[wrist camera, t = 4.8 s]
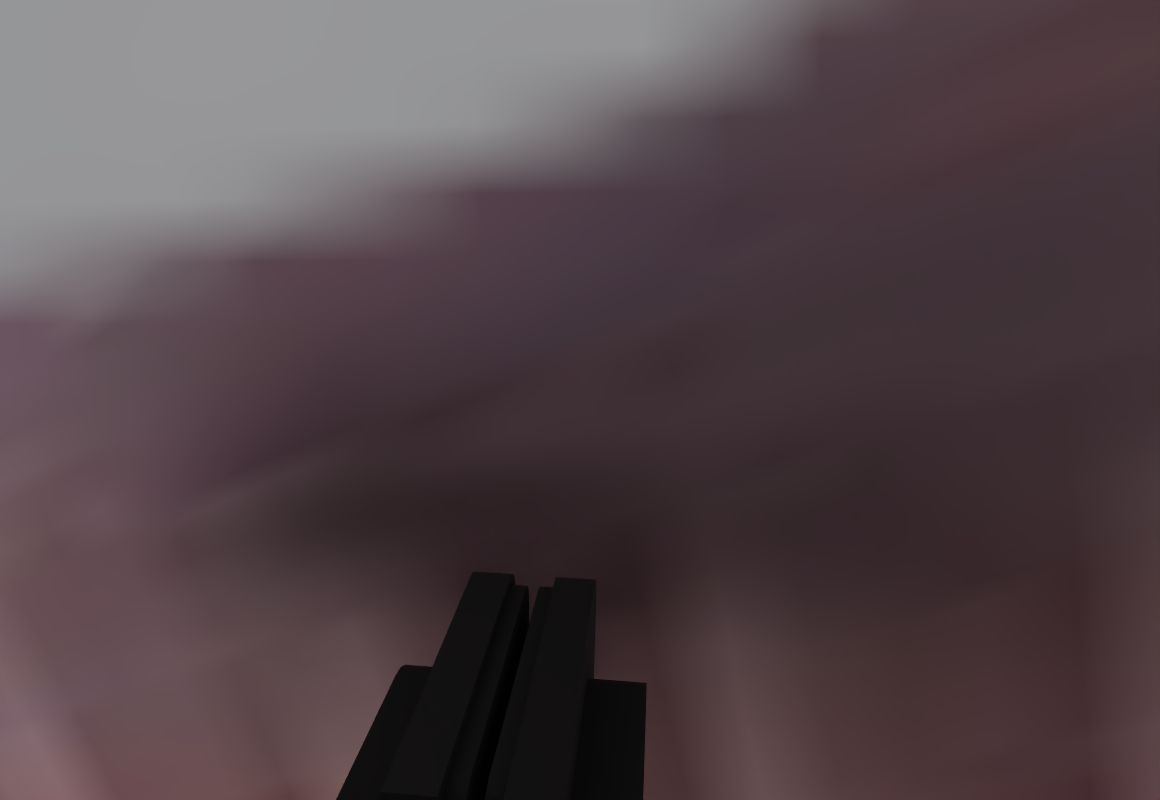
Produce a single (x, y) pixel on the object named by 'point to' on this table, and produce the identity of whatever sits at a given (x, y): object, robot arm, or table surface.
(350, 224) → the table surface
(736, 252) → the table surface
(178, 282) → the table surface
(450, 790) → the robot arm
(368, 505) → the table surface
